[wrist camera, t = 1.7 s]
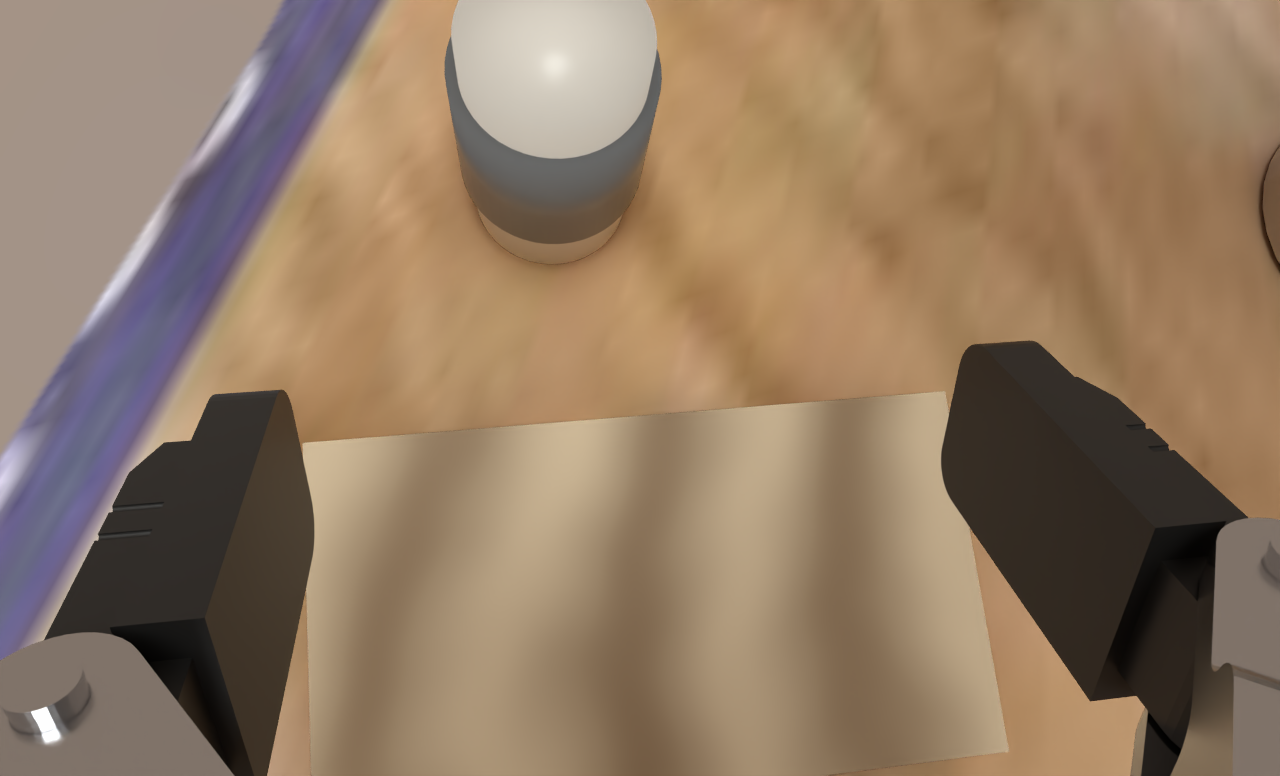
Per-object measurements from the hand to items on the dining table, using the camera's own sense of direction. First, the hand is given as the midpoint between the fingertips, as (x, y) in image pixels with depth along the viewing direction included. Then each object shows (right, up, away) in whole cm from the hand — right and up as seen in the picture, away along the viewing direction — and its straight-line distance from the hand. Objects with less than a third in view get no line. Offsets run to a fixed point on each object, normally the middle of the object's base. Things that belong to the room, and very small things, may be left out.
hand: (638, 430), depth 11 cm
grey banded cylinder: (-3, +7, +20) cm, 22 cm away
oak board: (0, -6, +18) cm, 19 cm away
